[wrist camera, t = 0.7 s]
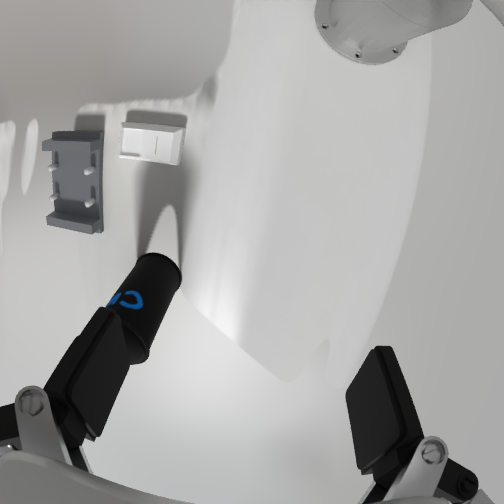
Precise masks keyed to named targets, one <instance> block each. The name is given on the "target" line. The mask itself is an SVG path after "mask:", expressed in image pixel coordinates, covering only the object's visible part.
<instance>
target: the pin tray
mask: <svg viewBox="0 0 504 504" xmlns="http://www.w3.org/2000/svg"><path fill="white" fill-rule="evenodd" d="M103 141H104V132H98V131H56V132H53V133H52V139H48V140H45V141H42V150H43V151H52V165H49V166H48V170H49V171H50V172H51V171H52V177H53V195H51V196H50V198H49V199H50V201H54V206H55V211H54V212H52V213H51V214H49V215H48V216H46V219H47V225H51V226H56V227H60V228H65V229H69V230H74V231H78V232H83V233H88V234H93V233H95V232H96V233H102V232H103V231H104V230H103V207H102V164H103Z"/></svg>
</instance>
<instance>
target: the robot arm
mask: <svg viewBox="0 0 504 504" xmlns="http://www.w3.org/2000/svg"><path fill="white" fill-rule="evenodd" d="M480 1H481V2H482V3H483V4H484V5H485V6H486V7H487V8H488V9H489V10H490V11H491V12H492V13H493V14H494V15H495V16H496V18H497V19H498V20H499V21H500V22H501V23H502V25H503V26H504V0H480ZM472 2H473V0H318V1H317V4H316V7H315V21H316V25H317V28H318V30H319V32H320V34H321V35H322V37H323V38H324V39H325V41H326V42H327V43H328V44H329V45H330V46H331V47H332V48H333V49H334V50H335V51H337V52H338V53H339V54H341V55H343V56H344V57H346V58H348V59H350V60H353V61H356V62H358V63H363V64H372V65H376V64H383V63H386V62H389V61H392V60H394V59H396V58H397V57H398V56H400V55H401V53H402V52H403V51H404V49H405V47H406V45H407V42H408V40H411V39H413V38H416V37H419V36H421V35H424V34H427V33H429V32H432V31H435V30H438V29H441V28H443V27H446V26H450V25H453V24H455V23H457V22H459V21H461V20H462V19H463V18H464V17H465V16H466V15H467V14H468V12H469V10H470V8H471V6H472ZM322 26H324V27H326V29H324V28H322ZM393 50H394V52H395V53H394V52H393ZM355 55H358V58H357V57H356V56H355ZM129 367H130V360H129V356H128V352H127V347H126V343H125V339H124V334H123V330H122V325H121V320H120V316H119V315H117V314H116V311H115V310H113V309H109V308H105V307H99V308H98V310H97V311H96V312H95V314H94V315H93V317H92V318H91V319H90V321H89V322H88V324H87V325H86V327H85V328H84V330H83V331H82V333H81V334H80V335H79V336H77V337H76V338H75V339H74V341H73V342H72V344H71V345H70V347H69V348H68V350H67V351H66V353H65V354H64V356H63V357H62V359H61V360H60V362H59V364H58V365H57V367H56V369H55V370H54V372H53V373H52V375H51V377H50V378H49V380H48V381H47V383H46V385H45V387H44V388H43V389H41V388H40V387H38V386H27V387H25V388H23V389H22V390H20V391H19V393H18V394H17V396H16V398H15V403H12V404H9V405H5V406H1V407H0V504H193V503H188V502H183V501H178V500H173V499H169V498H165V497H161V496H156V495H153V494H149V493H145V492H142V491H139V490H135V489H132V488H129V487H126V486H123V485H120V484H117V483H114V482H112V481H109V480H106V479H103V478H101V477H98V476H95V475H93V472H92V470H91V468H90V466H89V463H88V461H87V458H86V456H85V453H84V450H83V448H82V444H83V441H84V439H85V438H86V439H88V440H91V441H93V442H94V441H95V438H96V437H99V436H100V435H101V434H102V431H103V429H104V426H105V424H106V421H107V419H108V416H109V414H110V412H111V409H112V407H113V404H114V402H115V400H116V397H117V395H118V393H119V390H120V388H121V386H122V384H123V381H124V379H125V377H126V375H127V372H128V370H129ZM346 403H347V408H348V413H349V419H350V424H351V431H352V437H353V443H354V449H355V456H356V463H357V467H358V469H360V470H361V474H362V475H366V474H373V478H374V481H373V482H372V484H371V485H370V487H369V488H368V490H367V491H366V493H365V494H364V496H363V497H362V498H361V500H360V501H359V503H358V504H494V503H493V502H492V501H491V499H490V498H489V497H488V496H487V495H486V494H485V493H484V492H483V490H482V489H479V490H478V479H477V477H476V475H475V474H474V473H473V472H472V471H470V470H468V469H466V468H465V467H463V466H461V465H460V464H458V463H456V462H454V461H453V460H451V459H450V458H448V448H447V445H446V444H445V442H444V441H443V440H442V439H440V438H439V437H435V436H429V437H425V438H424V435H423V431H422V428H421V425H420V422H419V419H418V415H417V413H416V409H415V406H414V404H413V401H412V398H411V395H410V392H409V389H408V387H407V384H406V381H405V379H404V376H403V374H402V371H401V368H400V366H399V363H398V361H397V358H396V356H395V353H394V351H393V349H392V347H391V346H376V347H375V348H374V349H372V350H371V351H370V352H369V354H368V356H367V357H366V359H365V361H364V363H363V364H362V366H361V368H360V369H359V371H358V373H357V375H356V376H355V378H354V379H353V381H352V383H351V384H350V386H349V387H348V389H347V391H346Z"/></svg>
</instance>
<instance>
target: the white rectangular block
mask: <svg viewBox="0 0 504 504" xmlns="http://www.w3.org/2000/svg"><path fill="white" fill-rule="evenodd" d="M185 130H186V128H182V127H175V126H166V125H157V124H147V123H135V122H122V123H121V127H120V136H119V147H118V157H119V158H127V159H135V160H143V161H150V162H157V163H164V164H171V165H179V164H180V163H181V156H182V149H183V142H184V136H185Z"/></svg>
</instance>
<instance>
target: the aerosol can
mask: <svg viewBox="0 0 504 504" xmlns="http://www.w3.org/2000/svg"><path fill="white" fill-rule="evenodd" d="M180 285H181V273H180V270H179V268H178V267H177V265H176V264H175V263H174V262H173V261H172V260H171V259H170V258H168V257H167V256H165V255H163V254H159V253H147V254H144V255H142V256H141V257H140V258H139V259H138V260H137V262H136V265H135V267H134V268H133V269H132V271H131V272H130V273H129V275H128V276H127V278H126V279H125V280H124V282H123V283H122V284H121V286H120V287H119V289H118V290H117V291H116V293H115V294H114V296H113V297H112V298H111V300H110V301H109V303H108V304H107V305H106V307H105V308H109V309H113V310H115V311H116V314H117V315H119V316H120V320H121V325H122V330H123V334H124V339H125V343H126V347H127V352H128V356H129V360H130V365H134V364H140V363H143V362H145V361H146V360H147V359H148V357H149V352H150V350H149V349H150V347H151V345H152V342H153V340H154V338H155V336H156V333H157V331H158V329H159V327H160V324H161V322H162V320H163V318H164V315H165V313H166V311H167V309H168V307H169V305H170V302H171V300H172V298H173V295H174V294H175V292H176V291H177V290H178V289H179V287H180Z"/></svg>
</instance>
